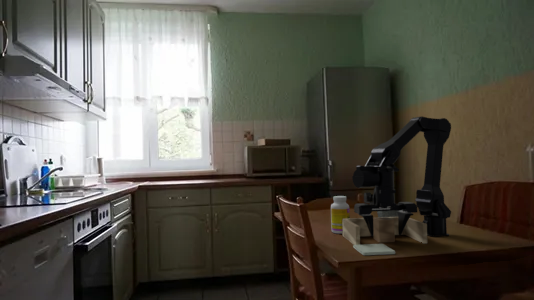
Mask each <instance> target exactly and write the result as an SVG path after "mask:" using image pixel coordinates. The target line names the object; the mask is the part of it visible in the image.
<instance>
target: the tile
mask: <svg viewBox="0 0 534 300" xmlns="http://www.w3.org/2000/svg"><path fill="white" fill-rule="evenodd" d="M352 247H353V248H354V249H355V250H356V251H357V252H359V253H360V254H361V255H363V256H380V255H381V256H382V255H396V250H394V249H392V248H391V247H389V246H387V245H386V244H384V243H365V244H360V245H354V244H352Z"/></svg>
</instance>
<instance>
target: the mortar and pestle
mask: <svg viewBox="0 0 534 300" xmlns="http://www.w3.org/2000/svg"><path fill="white" fill-rule="evenodd" d="M397 211H399V210H396V211H376V213H377V217H398V214H397Z"/></svg>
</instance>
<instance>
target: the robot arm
mask: <svg viewBox="0 0 534 300" xmlns="http://www.w3.org/2000/svg"><path fill="white" fill-rule="evenodd" d="M451 131H452V124H451V122H450V121H449V120H448V119H447V118H445V117H444V118H443V117H442V118H433V117H432V118H431V117H425V116H423V115H422V116H416V117H412V118H411V119H409V121H408V122H407V123H406V124H405V125H404V126H403V127H401V129H400V130H398V131H397V133H395V135H393V136H392V137H391V138H390V139H389V140H387V141H385V142H382V143H380V144H378V145H377V146H375V147H374V148H372V150H371V152H370V156H369V158H368V160H367V161H366V163H365V165H356V166H355V167H356V168H355V170H354V171H353V173H352V174H353V175H352V177H351V180H352V183H353V185H354V187H356V188H358V189H360V188H361V189H362V188H373V193H371V192H364V193H363V203H355V204H354V206H353V212H354V213H355V214H357V215H358V216H360V217H361V218H364V220H365V222H366V224H367V227H368V229H369V232H370V235H371V236H370V237H374V236H373V233H374V227H373V218H374V215H373V214H372V212H377V211H396V210H399V211H397V214H398V232H399V235H398V236H401V234H402V232H403V230H404V228H405V225H406V223H407V221H408V220H409V218H411V216H414V214H416V213H418V212H419V215H420V216H423V220H422V222H423V223H426V224H427V236H430V237H449V236H450V234H449V233H447V229H448V228H447V227H448V226H447V219H448V218H451V215H452V211H451V209H450V208H449V207H448V206H447V205H446V204H445V195H444V193H443V191H442V189H441V177H442V166H443V155H444V145H445V144H446V142H447V141H448V139H449V138H450V135H451ZM420 132H421V133H423V137H424V141H426V144H427V148H426V149H427V150H426V157H425V168H424V169H425V171H424V180H423V185H422V187H421V189H417V190H416V193H415V196H416V197H415V200H414V202H411V201H399V202H398V203H396V202H395V194H396V193H397V192H396V191H397V190H396V189H395V182H394V181H395V178H394V177H395V174H394V173H395V172H399V171H400V169H399V168H398V167H397V166H396V165H395V163H396V161H397V160H398V159H399V157H400V156H401V151H402V150H403V148H404V147H406V146H407V145H408V143H410V142H411V141H412V140H413V139H414V138H415V137H416V136H417V135H418V134H419V133H420ZM415 202H416V203H415Z"/></svg>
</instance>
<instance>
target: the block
mask: <svg viewBox="0 0 534 300" xmlns="http://www.w3.org/2000/svg"><path fill="white" fill-rule="evenodd" d="M373 227H374V236H373V240H374V241H376V242H378V244H382V243H395V241H396V240H395V239H396V235H395V230H394V219H391V218H388V217H381V218H377V217H373Z"/></svg>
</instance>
